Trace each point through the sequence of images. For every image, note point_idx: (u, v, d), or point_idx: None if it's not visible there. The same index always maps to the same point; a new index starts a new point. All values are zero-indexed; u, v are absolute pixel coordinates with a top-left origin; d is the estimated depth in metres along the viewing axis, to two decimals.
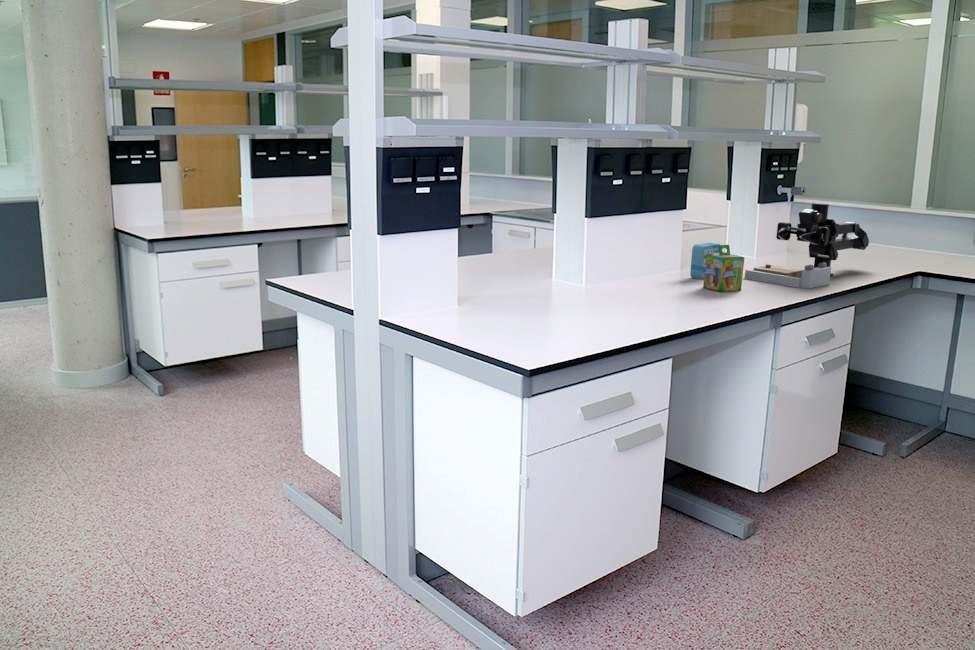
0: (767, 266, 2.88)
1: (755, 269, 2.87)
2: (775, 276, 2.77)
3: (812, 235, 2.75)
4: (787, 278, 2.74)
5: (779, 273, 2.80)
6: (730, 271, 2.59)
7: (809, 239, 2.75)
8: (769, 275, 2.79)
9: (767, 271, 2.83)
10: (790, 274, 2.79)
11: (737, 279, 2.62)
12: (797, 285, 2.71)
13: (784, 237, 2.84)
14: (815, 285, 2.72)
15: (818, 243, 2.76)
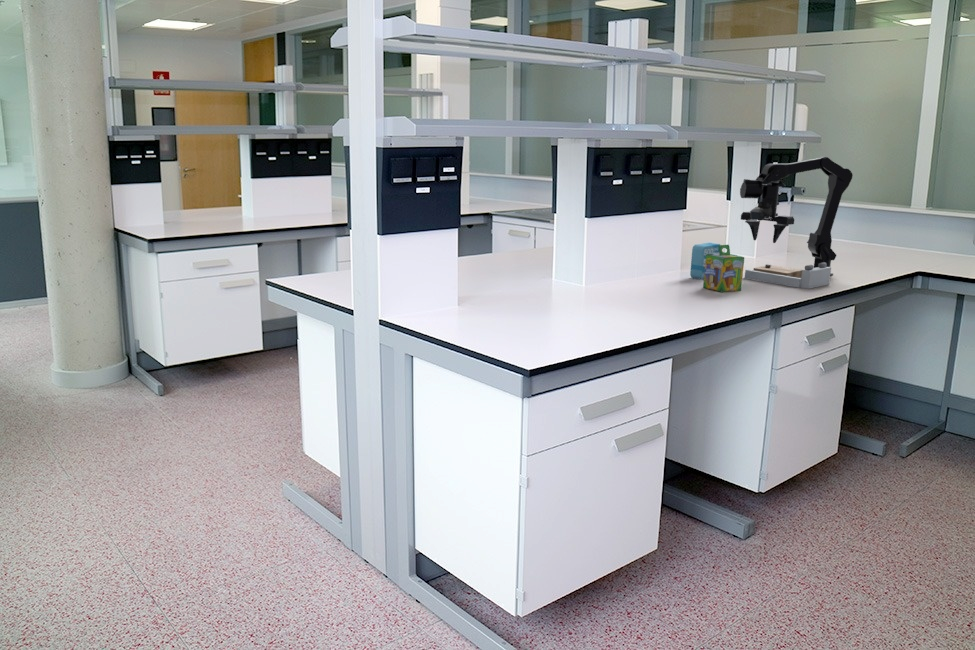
0: (767, 266, 2.88)
1: (755, 269, 2.86)
2: (775, 276, 2.77)
3: (778, 230, 2.88)
4: (787, 278, 2.74)
5: (779, 273, 2.80)
6: (730, 271, 2.59)
7: (778, 234, 2.89)
8: (769, 275, 2.79)
9: (767, 271, 2.83)
10: (790, 274, 2.79)
11: (737, 279, 2.62)
12: (797, 285, 2.71)
13: (758, 225, 2.96)
14: (815, 285, 2.72)
15: (786, 225, 2.88)
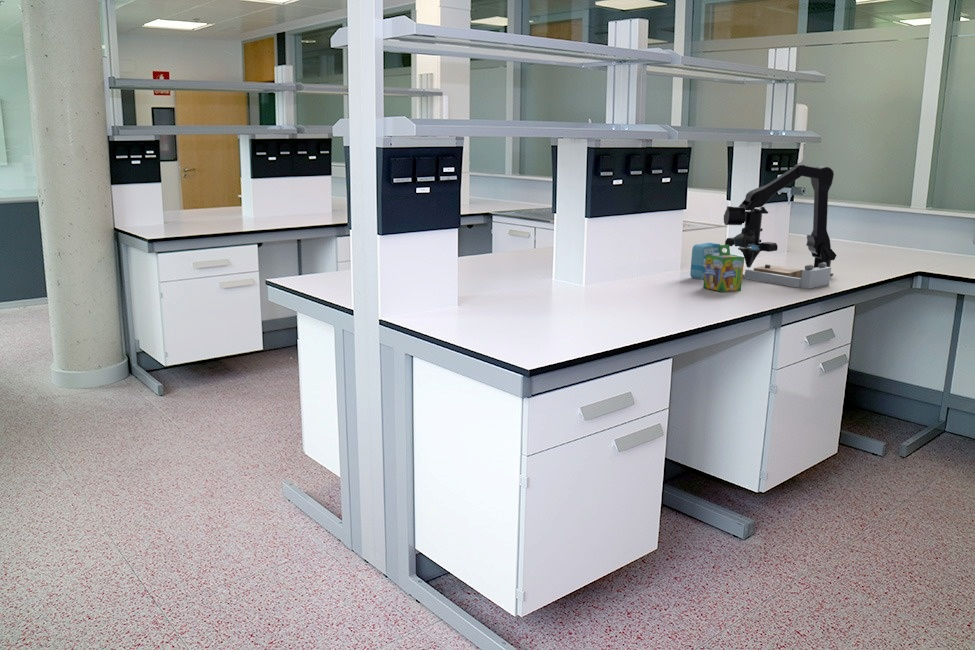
0: (767, 266, 2.88)
1: (755, 269, 2.86)
2: (775, 276, 2.77)
3: (752, 255, 2.93)
4: (787, 278, 2.74)
5: (780, 273, 2.79)
6: (730, 271, 2.59)
7: (753, 259, 2.94)
8: (769, 275, 2.79)
9: (768, 271, 2.83)
10: (791, 274, 2.79)
11: (737, 279, 2.62)
12: (797, 285, 2.71)
13: None
14: (815, 285, 2.72)
15: None
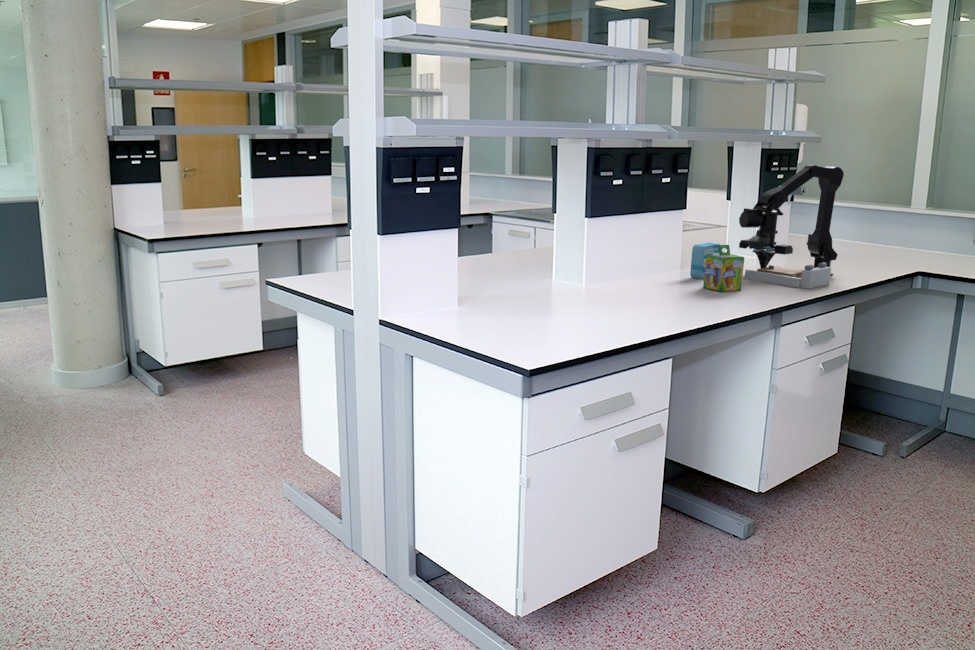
0: (770, 267, 2.86)
1: (759, 270, 2.85)
2: (775, 276, 2.77)
3: (767, 258, 2.88)
4: (787, 278, 2.74)
5: (784, 274, 2.78)
6: (730, 271, 2.59)
7: (767, 262, 2.89)
8: (769, 275, 2.79)
9: (771, 272, 2.81)
10: (795, 275, 2.78)
11: (737, 279, 2.62)
12: (797, 285, 2.71)
13: None
14: (815, 285, 2.72)
15: (775, 253, 2.88)
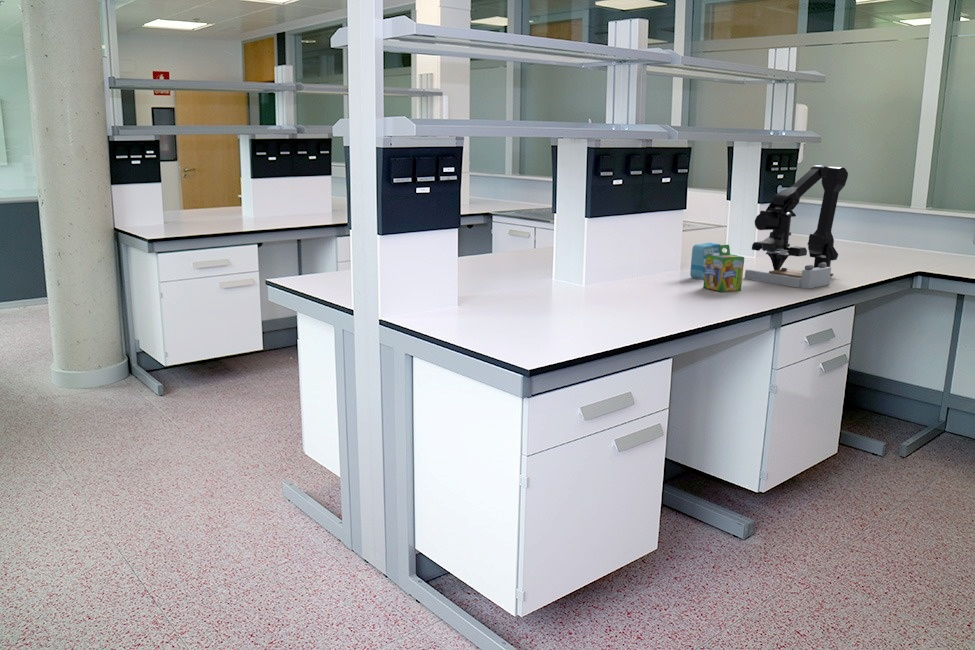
0: (783, 269, 2.82)
1: (770, 272, 2.81)
2: (775, 276, 2.77)
3: (780, 260, 2.84)
4: (787, 278, 2.74)
5: None
6: (730, 271, 2.59)
7: (781, 264, 2.85)
8: (769, 275, 2.79)
9: (783, 274, 2.77)
10: None
11: (737, 279, 2.62)
12: (797, 285, 2.71)
13: None
14: (815, 285, 2.72)
15: (789, 255, 2.84)
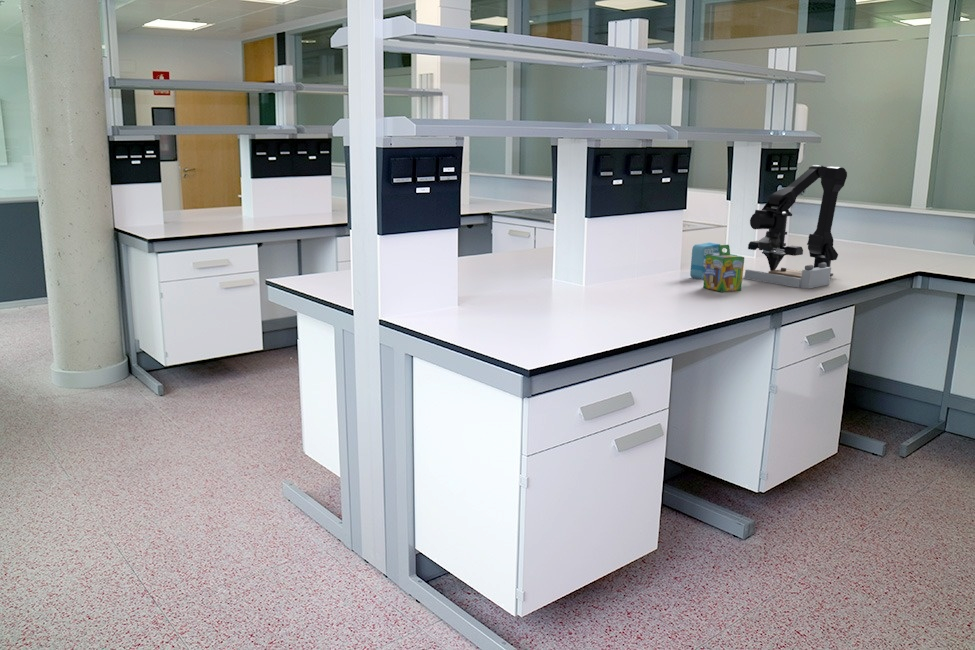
0: (782, 269, 2.82)
1: (770, 272, 2.80)
2: (775, 276, 2.77)
3: (777, 259, 2.85)
4: (787, 278, 2.74)
5: None
6: (730, 271, 2.59)
7: (777, 263, 2.87)
8: (769, 275, 2.79)
9: (782, 274, 2.77)
10: None
11: (737, 279, 2.62)
12: (797, 285, 2.71)
13: None
14: (815, 285, 2.72)
15: (785, 254, 2.85)
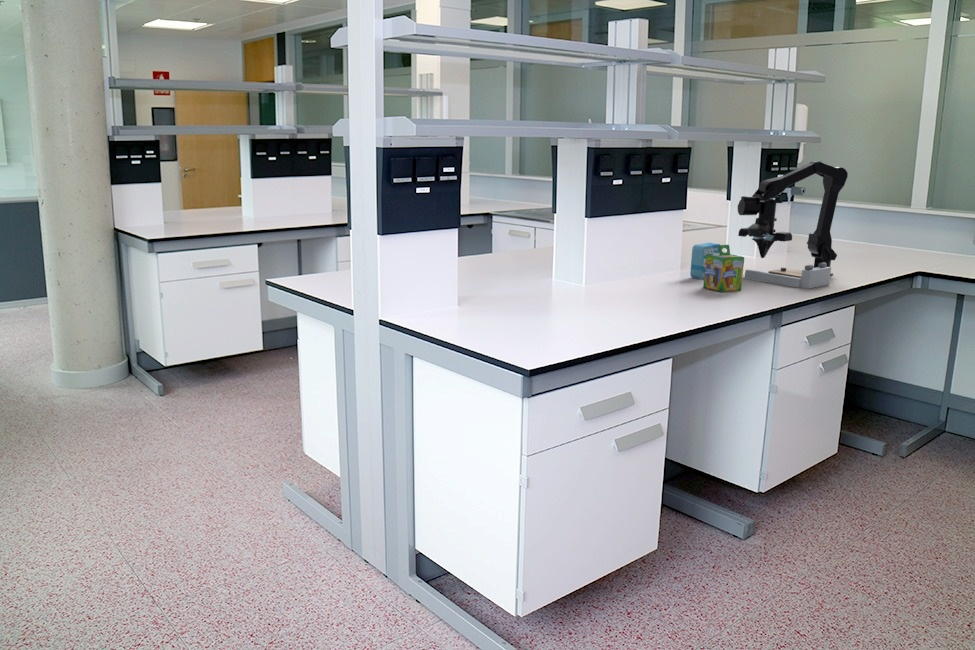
0: (782, 269, 2.82)
1: (770, 272, 2.80)
2: (775, 276, 2.77)
3: (766, 245, 2.90)
4: (787, 278, 2.74)
5: None
6: (730, 271, 2.59)
7: (767, 249, 2.91)
8: (769, 275, 2.79)
9: (782, 274, 2.77)
10: None
11: (737, 279, 2.62)
12: (797, 285, 2.71)
13: None
14: (815, 285, 2.72)
15: (775, 240, 2.90)
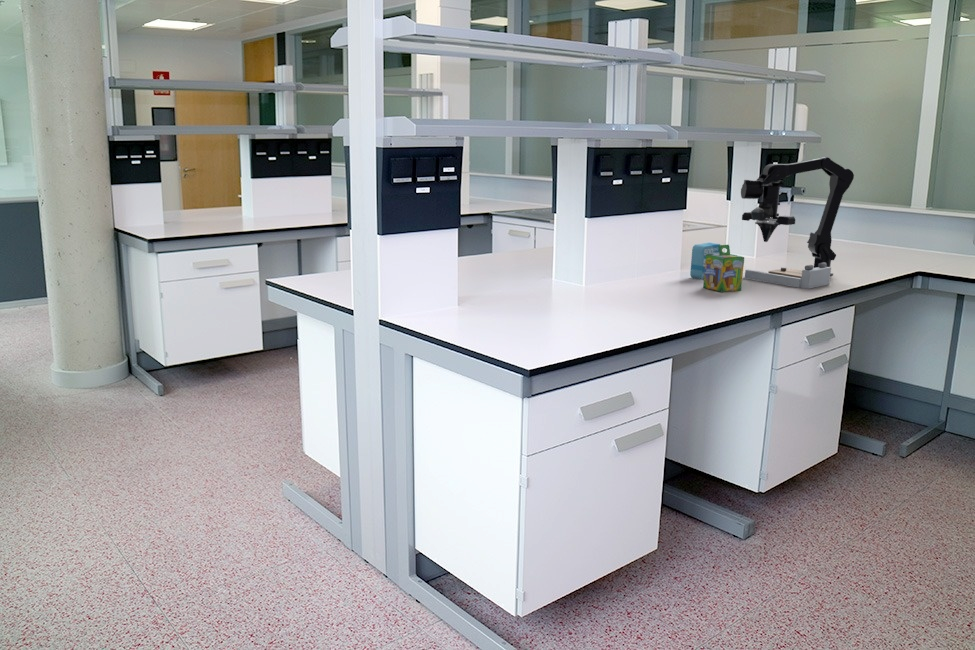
0: (782, 269, 2.82)
1: (770, 272, 2.80)
2: (775, 276, 2.77)
3: (770, 229, 2.91)
4: (787, 278, 2.74)
5: (795, 276, 2.73)
6: (730, 271, 2.59)
7: (770, 233, 2.93)
8: (769, 275, 2.79)
9: (782, 274, 2.77)
10: None
11: (737, 279, 2.62)
12: (797, 285, 2.71)
13: None
14: (815, 285, 2.72)
15: (778, 224, 2.91)
